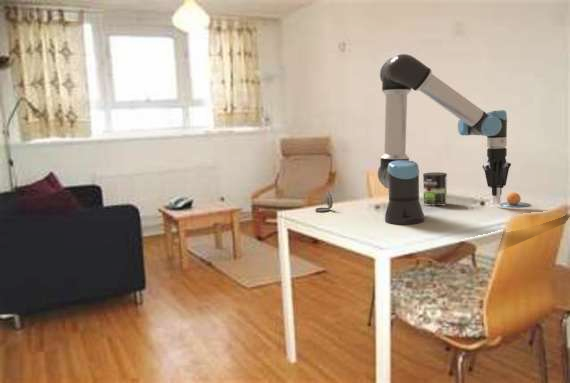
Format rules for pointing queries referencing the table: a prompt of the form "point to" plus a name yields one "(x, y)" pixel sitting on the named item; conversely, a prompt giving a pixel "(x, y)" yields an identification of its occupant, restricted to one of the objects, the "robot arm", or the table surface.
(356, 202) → the table surface
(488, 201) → the table surface
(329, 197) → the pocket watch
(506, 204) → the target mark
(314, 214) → the table surface
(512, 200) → the ball
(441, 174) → the coffee can
